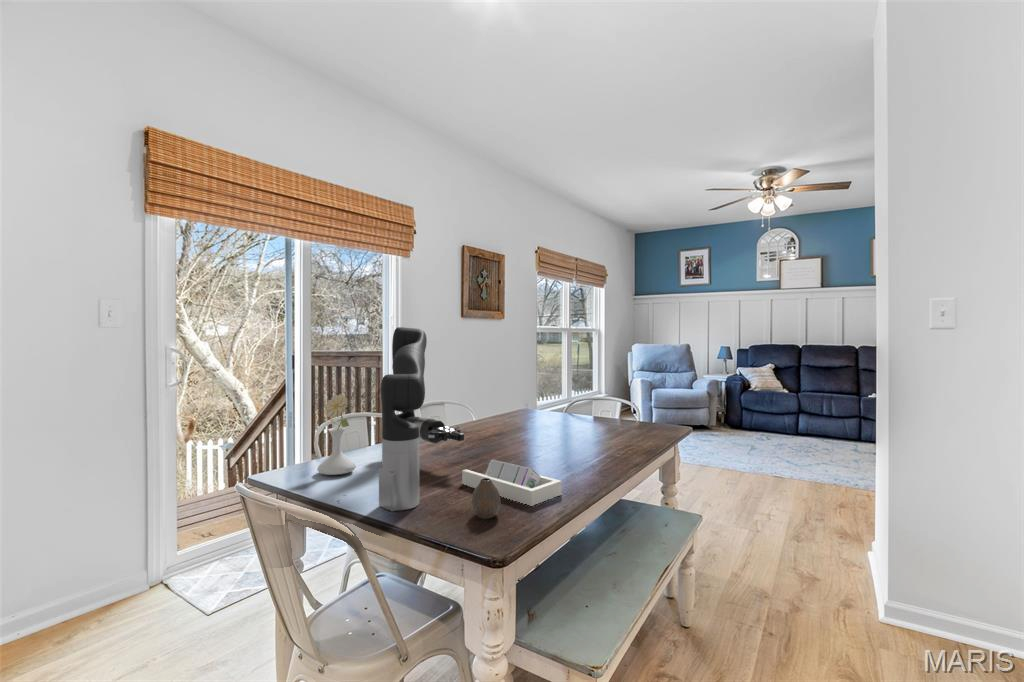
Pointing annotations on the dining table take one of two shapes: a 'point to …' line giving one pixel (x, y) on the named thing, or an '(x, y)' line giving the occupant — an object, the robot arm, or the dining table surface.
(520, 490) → the rectangular tray
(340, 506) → the dining table surface
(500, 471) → the syrup box
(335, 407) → the flower in vase
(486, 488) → the vase
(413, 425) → the robot arm
